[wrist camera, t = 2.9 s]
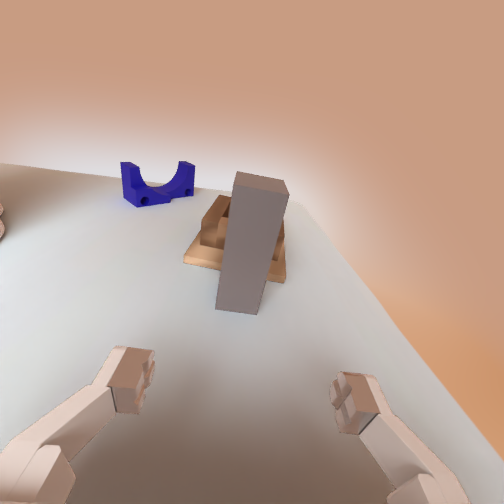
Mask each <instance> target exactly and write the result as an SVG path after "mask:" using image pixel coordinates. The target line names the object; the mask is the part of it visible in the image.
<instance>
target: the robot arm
mask: <svg viewBox="0 0 504 504" xmlns="http://www.w3.org/2000/svg"><path fill="white" fill-rule="evenodd" d="M3 211H4V208H3V207H2V205H1V203H0V215H1V214H2V213H3ZM4 230H5V227H4V224H3V223H2V221H1V220H0V238H1V236H2V235H3V233H4ZM153 358H154V350H147V349H139V348H131V347H124V346H115V347H114V348H113V349H112V351H111V352H110V354H109V356H108V357H107V359H106V361H105V362H104V364H103V366H102V368H101V369H100V371H99V373H98V374H97V376H96V378H95V379H94V381H93V383H92V384H91V385H86V386H85V387H83V388H82V389H81V390H79V391H78V392H77V393H75V394H74V395H72V396H71V397H70V398H68V399H67V400H66V401H64V402H63V403H61V404H60V405H59V406H57V407H56V408H55V409H53V410H52V411H50V412H49V413H48V414H46V415H45V416H43V417H42V418H41V419H39V420H38V421H37V422H35V423H34V424H32V425H31V426H30V427H28V428H27V429H26V430H24V431H23V432H21V433H20V434H19V435H17V436H16V437H15V438H13V439H12V440H11V441H10V442H9V443H8V445H7V446H6V447H5V449H4V450H3V451H2V453H1V454H0V504H65V502H66V500H67V498H68V496H69V494H70V491H71V489H72V487H73V485H74V483H75V481H76V477H75V474H74V472H73V470H72V468H71V466H70V464H69V463H68V462H69V461H70V460H71V459H72V458H73V457H74V456H75V455H76V454H77V453H78V452H79V451H80V450H81V449H82V448H83V447H84V446H85V445H86V444H87V443H88V442H89V441H90V440H91V439H92V438H93V437H94V436H95V435H96V434H97V433H98V432H99V431H100V430H101V429H102V428H103V427H104V426H105V425H106V424H107V423H108V422H109V421H110V420H111V419H112V418H113V417H114V416H115V415H116V413H124V414H139V413H140V410H141V407H142V405H143V402H144V399H145V397H146V396H145V389H146V388H147V387H149V386H150V383H151V381H152V378H153V374H154V369H155V362H154V361H153ZM330 399H331V402H332V405H333V406H334V407H335V408H336V410H337V411H336V414H335V417H336V421H337V425H338V428H339V432H340V433H347V434H355V435H359V438H360V439H361V440H362V442H363V443H364V445H365V446H366V447H367V449H368V450H369V452H370V453H371V455H372V456H373V457H374V459H375V460H376V462H377V463H378V464H379V466H380V467H381V469H382V470H383V472H384V473H385V474H386V476H387V477H388V479H389V480H390V481H391V483H392V484H393V486H394V487H395V489H396V490H395V491H393V492H392V493H390V494H389V495H388V496H387V498H386V500H387V503H388V504H471V503H470V501H469V499H468V497H467V496H466V494H465V492H464V490H463V488H462V487H461V485H460V483H459V481H458V479H457V478H456V476H455V475H454V474H453V473H452V472H451V470H450V469H449V468H448V467H447V466H446V465H445V464H444V463H443V462H442V461H441V460H440V459H439V458H438V457H437V456H436V455H435V454H434V453H433V452H432V451H431V450H430V449H429V448H428V447H427V446H426V445H425V444H424V443H423V442H422V441H421V440H420V439H419V438H418V437H417V436H416V435H415V434H414V433H413V432H412V431H411V430H410V429H409V428H408V427H407V426H406V425H405V424H404V423H403V422H402V421H401V420H400V419H399V418H398V417H397V416H394V415H393V414H392V411H391V409H390V407H389V405H388V403H387V401H386V399H385V396H384V394H383V392H382V390H381V388H380V386H379V384H378V382H377V379H376V378H375V377H374V376H373V375H367V374H361V373H350V372H339V373H338V374H337V380H335V381H333V382H332V384H331V386H330Z"/></svg>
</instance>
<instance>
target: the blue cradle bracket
mask: <svg viewBox="0 0 504 504" xmlns="http://www.w3.org/2000/svg"><path fill="white" fill-rule="evenodd" d="M121 174H122V185H123V195H124V198H125V199H126V200H127V201H129V202H130V203H131V204H133V205H134V206H136V207H144V206H150V205H157V204H164V203H170V202H171V199H173V198H180V197H188V196H193V193H194V175H195V165H193V164H191V163H188V162H186V161H179V165H178V169H177V172H176V174H175V176H174V177H173V178H172V180H171V181H170V182H168V183H167V184H165V185H163V186H160V187H150V186H147V185H146V184H145V182H144V181H143V179H142V177H141V174H140V170H139V167H138V166H136V165H134V164H133V163H131V162H121Z"/></svg>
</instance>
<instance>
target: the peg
mask: <svg viewBox="0 0 504 504" xmlns="http://www.w3.org/2000/svg"><path fill="white" fill-rule="evenodd" d="M288 198H289V192H288V190H287V188H286V185H285V183H284V181H283V180H279V179H274V178H269V177H264V176H259V175H253V174H249V173H243V172H238V171H237V173H236V177H235V181H234V185H233V191H232V198H231V204H230V211H229V218H228V225H227V232H226V238H225V245H224V252H223V259H222V266H221V273H220V279H219V286H218V293H217V300H216V307H215V309H218V310H225V311H232V312H239V313H247V314H254V315H257V311H258V308H259V304H260V300H261V297H262V293H263V289H264V286H265V282H266V279H267V275H268V271H269V268H270V264H271V260H272V257H273V253H274V249H275V246H276V242H277V239H278V235H279V231H280V228H281V224H282V220H283V217H284V213H285V209H286V206H287V202H288Z"/></svg>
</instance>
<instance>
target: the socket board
mask: <svg viewBox="0 0 504 504" xmlns="http://www.w3.org/2000/svg"><path fill="white" fill-rule="evenodd" d="M231 198H232V197H227V196H223V195H219V196H218V198H217V199H216V200H215V202H214V203H213V205H212V206H211V207H210V209H209V210H208V212H207V213H206V214H205V216H204V217H203V219H202V223H201V230H200V232H199V233H198V235H197V236H196V238H195V239H194V241H193V242H192V244H191V245H190V247H189V248H188V250H187V251H186V253H185V254H184V261H183V263H187V264H192V265H197V266H202V267H207V268H211V269H216V270H221V266H222V259H223V252H224V245H225V238H226V232H227V225H228V218H229V211H230V204H231ZM285 278H286V269H285V251H284V221H283V220H282V224H281V228H280V231H279V235H278V239H277V242H276V246H275V249H274V253H273V257H272V260H271V264H270V268H269V271H268V275H267V279H266V280H269V281H274V282H279V283H284V281H285Z"/></svg>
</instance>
